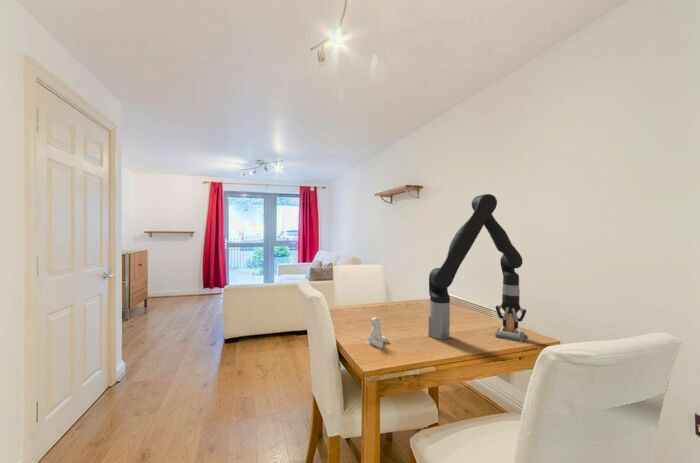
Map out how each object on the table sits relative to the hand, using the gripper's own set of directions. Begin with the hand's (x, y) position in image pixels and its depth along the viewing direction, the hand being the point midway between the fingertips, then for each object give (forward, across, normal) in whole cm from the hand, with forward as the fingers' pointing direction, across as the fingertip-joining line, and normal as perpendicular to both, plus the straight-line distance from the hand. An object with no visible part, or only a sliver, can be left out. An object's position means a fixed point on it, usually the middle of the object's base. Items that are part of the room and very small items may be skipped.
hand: (510, 327), depth 146 cm
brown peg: (+2, 0, 0) cm, 2 cm away
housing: (+4, 0, 0) cm, 4 cm away
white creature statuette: (+4, -50, -47) cm, 69 cm away
